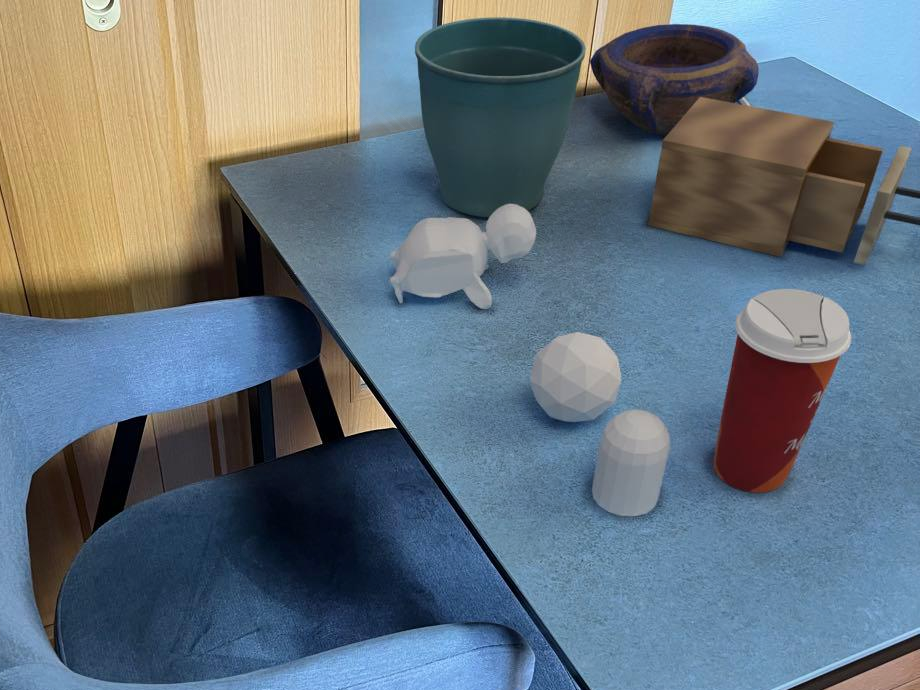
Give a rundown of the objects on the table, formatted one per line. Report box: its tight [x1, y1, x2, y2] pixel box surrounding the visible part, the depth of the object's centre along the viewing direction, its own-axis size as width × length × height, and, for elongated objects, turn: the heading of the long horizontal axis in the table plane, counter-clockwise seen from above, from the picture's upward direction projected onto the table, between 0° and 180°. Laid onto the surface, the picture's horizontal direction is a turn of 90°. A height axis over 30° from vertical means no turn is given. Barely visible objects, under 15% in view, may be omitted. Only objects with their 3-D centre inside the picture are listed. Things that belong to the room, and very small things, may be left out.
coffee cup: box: [713, 288, 852, 494], centre depth 81 cm, size 8×8×15 cm
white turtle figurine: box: [389, 204, 537, 310], centre depth 104 cm, size 9×8×15 cm
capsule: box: [591, 409, 671, 517], centre depth 81 cm, size 5×5×8 cm
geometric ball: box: [529, 331, 622, 423], centre depth 89 cm, size 8×8×8 cm
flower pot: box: [414, 16, 587, 218], centre depth 115 cm, size 18×18×17 cm
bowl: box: [589, 23, 760, 137], centre depth 131 cm, size 18×18×10 cm
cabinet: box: [647, 97, 835, 258], centre depth 113 cm, size 15×13×10 cm
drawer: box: [787, 137, 920, 266], centre depth 109 cm, size 19×12×8 cm, turn 60°
